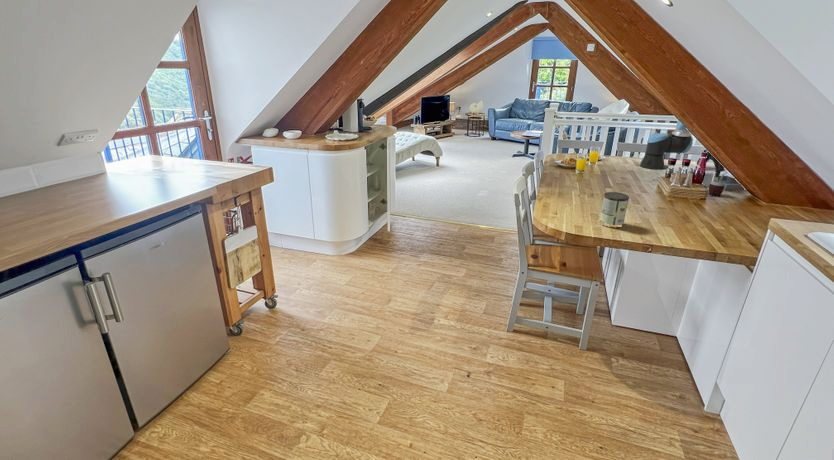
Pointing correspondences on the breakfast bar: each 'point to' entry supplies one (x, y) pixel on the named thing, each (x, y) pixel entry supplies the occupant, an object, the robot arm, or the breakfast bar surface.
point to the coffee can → (614, 208)
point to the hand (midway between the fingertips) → (706, 179)
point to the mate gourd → (716, 187)
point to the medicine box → (708, 178)
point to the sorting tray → (730, 183)
